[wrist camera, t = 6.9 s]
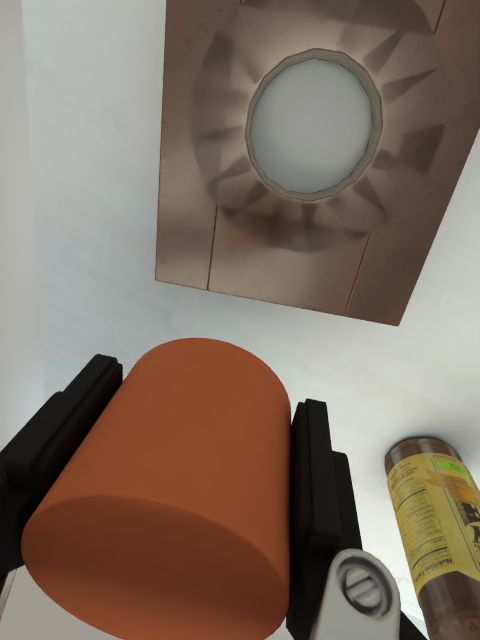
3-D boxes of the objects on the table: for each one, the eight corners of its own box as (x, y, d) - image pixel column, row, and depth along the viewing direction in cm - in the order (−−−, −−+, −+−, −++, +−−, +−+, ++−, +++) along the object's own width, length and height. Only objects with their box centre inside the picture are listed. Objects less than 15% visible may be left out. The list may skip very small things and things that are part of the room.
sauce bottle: (472, 469, 31) (707, 911, 13) (402, 493, 33) (525, 896, 16) (438, 420, 29) (660, 857, 12) (366, 448, 31) (461, 850, 14)
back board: (166, 268, 26) (154, 280, 24) (183, -39, 18) (168, -62, 16) (389, 310, 25) (398, 327, 23) (505, 10, 18) (535, -8, 15)
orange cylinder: (125, 449, 13) (34, 620, 8) (126, 320, 10) (-1, 464, 6) (272, 482, 12) (260, 674, 8) (310, 358, 10) (323, 538, 6)
